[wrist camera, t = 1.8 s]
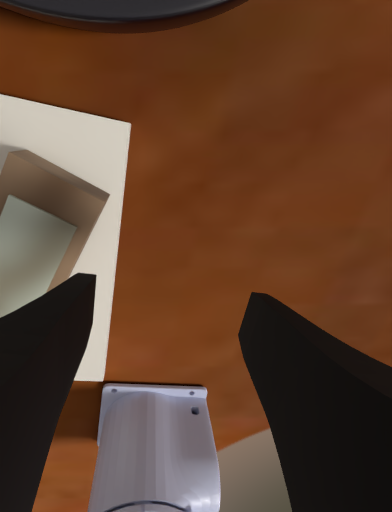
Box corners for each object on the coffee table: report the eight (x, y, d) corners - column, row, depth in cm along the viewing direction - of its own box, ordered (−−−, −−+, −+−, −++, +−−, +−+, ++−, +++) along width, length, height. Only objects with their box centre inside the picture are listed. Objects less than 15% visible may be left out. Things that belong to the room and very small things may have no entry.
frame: (110, 194, 17) (103, 203, 15) (24, 366, 21) (8, 395, 19) (27, 149, 16) (4, 152, 13) (-49, 345, 20) (-76, 373, 18)
